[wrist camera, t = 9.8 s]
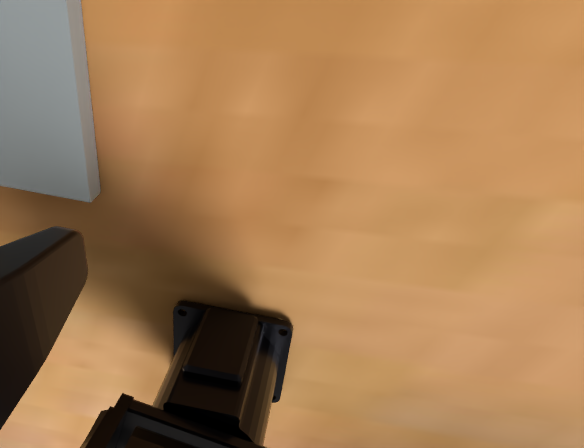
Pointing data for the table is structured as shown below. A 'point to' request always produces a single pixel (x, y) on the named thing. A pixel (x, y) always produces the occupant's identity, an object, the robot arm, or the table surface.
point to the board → (46, 100)
